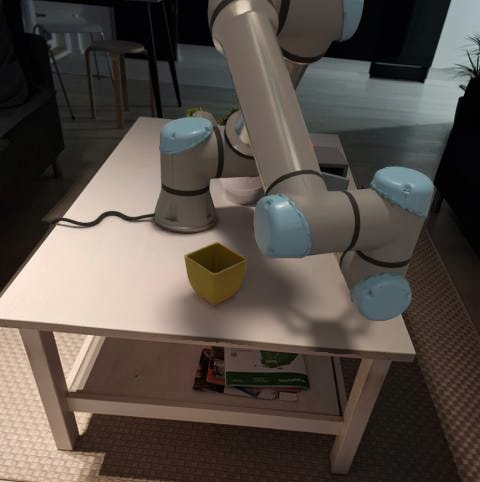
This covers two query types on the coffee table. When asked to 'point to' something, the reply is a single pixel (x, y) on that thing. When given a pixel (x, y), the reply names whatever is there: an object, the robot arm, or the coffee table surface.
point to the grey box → (331, 160)
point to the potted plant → (200, 115)
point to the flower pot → (215, 272)
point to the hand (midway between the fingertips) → (328, 189)
